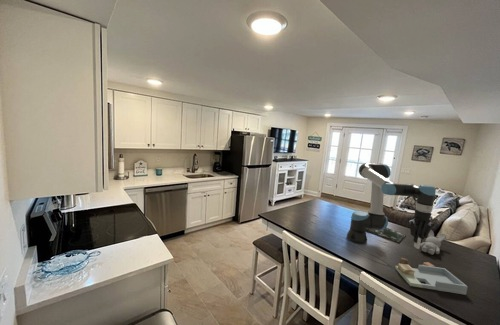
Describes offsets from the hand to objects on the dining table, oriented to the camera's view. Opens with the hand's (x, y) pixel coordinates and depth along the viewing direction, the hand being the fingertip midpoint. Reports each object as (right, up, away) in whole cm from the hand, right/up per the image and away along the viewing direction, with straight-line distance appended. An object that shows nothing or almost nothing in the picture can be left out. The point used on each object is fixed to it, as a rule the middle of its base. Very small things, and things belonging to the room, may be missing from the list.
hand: (416, 247), depth 124 cm
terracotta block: (+15, -19, +9) cm, 26 cm away
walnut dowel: (0, -17, +11) cm, 20 cm away
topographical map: (+20, -13, +63) cm, 67 cm away
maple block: (-5, -16, +2) cm, 17 cm away
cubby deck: (+4, -19, -2) cm, 20 cm away
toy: (+42, -17, +37) cm, 59 cm away
